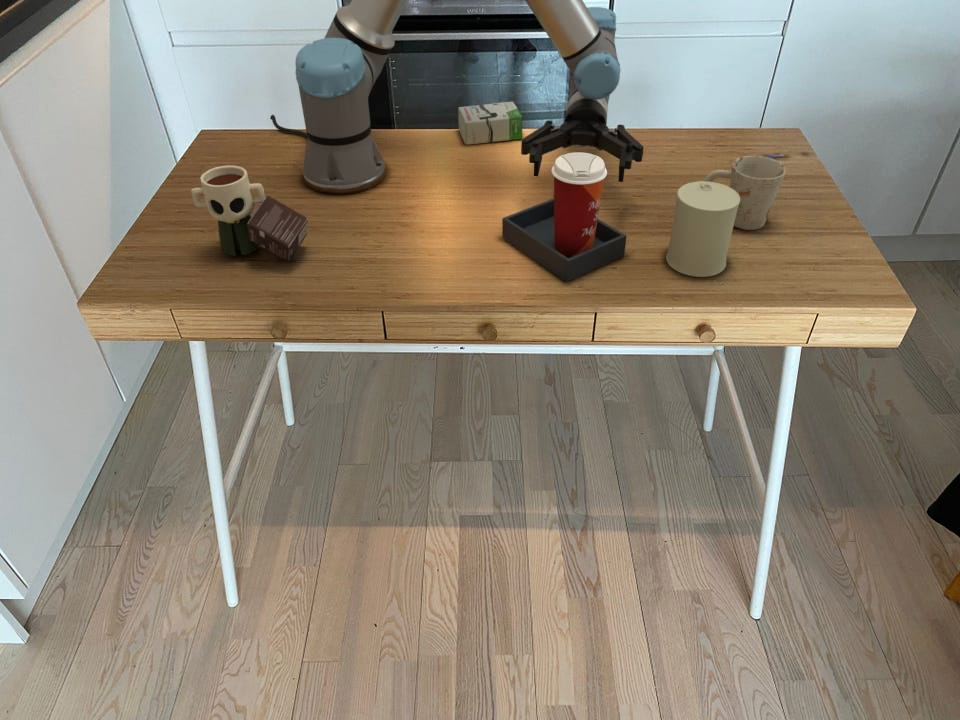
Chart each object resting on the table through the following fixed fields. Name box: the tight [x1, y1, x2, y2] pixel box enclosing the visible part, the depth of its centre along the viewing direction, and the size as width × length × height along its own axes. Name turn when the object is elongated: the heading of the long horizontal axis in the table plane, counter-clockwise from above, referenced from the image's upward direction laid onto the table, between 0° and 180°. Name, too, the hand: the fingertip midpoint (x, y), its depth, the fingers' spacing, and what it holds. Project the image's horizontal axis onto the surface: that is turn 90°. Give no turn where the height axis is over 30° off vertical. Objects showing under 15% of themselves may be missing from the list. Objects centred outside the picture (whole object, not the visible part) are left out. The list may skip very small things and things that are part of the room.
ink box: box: [458, 101, 523, 145], centre depth 158 cm, size 9×5×12 cm
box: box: [247, 195, 309, 262], centre depth 121 cm, size 6×6×7 cm
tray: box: [501, 197, 627, 283], centre depth 124 cm, size 16×12×4 cm
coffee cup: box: [551, 151, 608, 258], centre depth 119 cm, size 8×8×15 cm
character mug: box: [190, 164, 266, 257], centre depth 122 cm, size 11×7×13 cm, turn 98°
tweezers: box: [767, 153, 786, 159], centre depth 149 cm, size 2×12×1 cm, turn 103°
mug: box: [702, 155, 787, 231], centre depth 128 cm, size 8×13×10 cm, turn 70°
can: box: [665, 180, 740, 278], centre depth 118 cm, size 9×9×12 cm
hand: (578, 171), depth 123 cm, fingers open, 13 cm apart
